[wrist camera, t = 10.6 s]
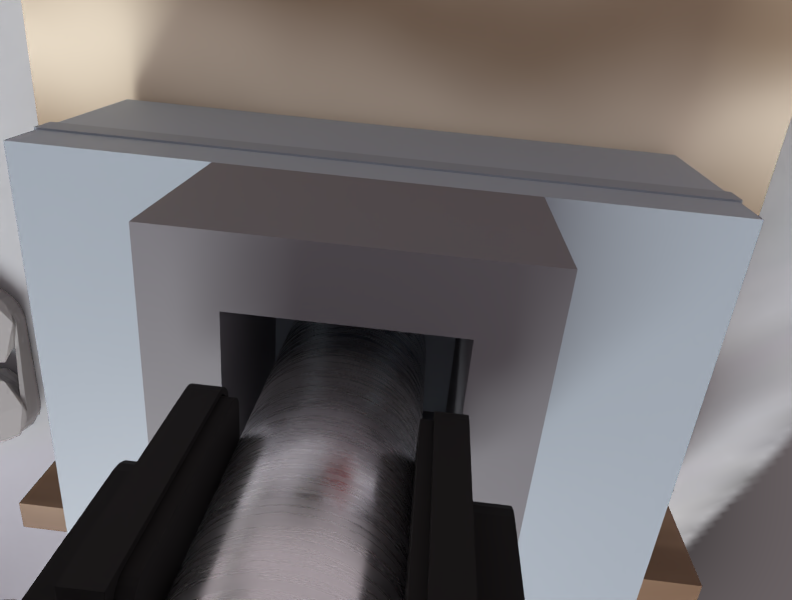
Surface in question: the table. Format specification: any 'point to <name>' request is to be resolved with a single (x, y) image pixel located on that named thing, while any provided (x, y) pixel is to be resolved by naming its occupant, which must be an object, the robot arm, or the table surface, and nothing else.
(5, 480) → the table surface
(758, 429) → the table surface
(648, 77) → the bay
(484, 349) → the square socket plate
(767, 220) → the table surface
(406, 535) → the handle peg
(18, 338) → the pulley system
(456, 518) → the robot arm
